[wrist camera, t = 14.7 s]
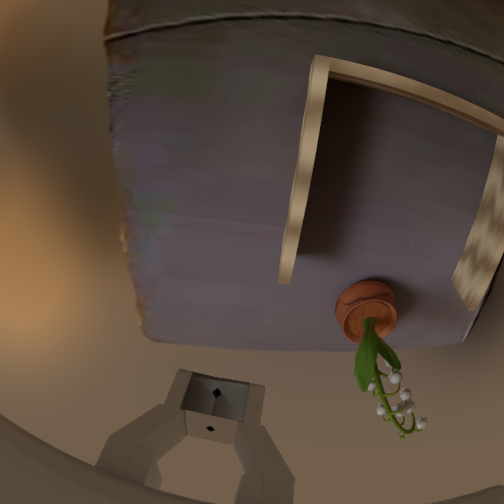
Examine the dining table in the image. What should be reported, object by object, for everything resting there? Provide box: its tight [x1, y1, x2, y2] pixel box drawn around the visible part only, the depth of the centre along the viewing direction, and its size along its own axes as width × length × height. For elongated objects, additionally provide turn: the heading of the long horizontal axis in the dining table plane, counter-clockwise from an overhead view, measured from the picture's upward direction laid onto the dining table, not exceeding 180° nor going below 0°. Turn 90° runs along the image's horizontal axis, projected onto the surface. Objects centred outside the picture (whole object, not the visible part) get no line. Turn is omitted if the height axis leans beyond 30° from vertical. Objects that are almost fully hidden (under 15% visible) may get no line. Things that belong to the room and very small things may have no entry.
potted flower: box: [335, 280, 427, 439], centre depth 37 cm, size 12×10×25 cm
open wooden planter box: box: [278, 55, 504, 311], centre depth 35 cm, size 27×31×8 cm
